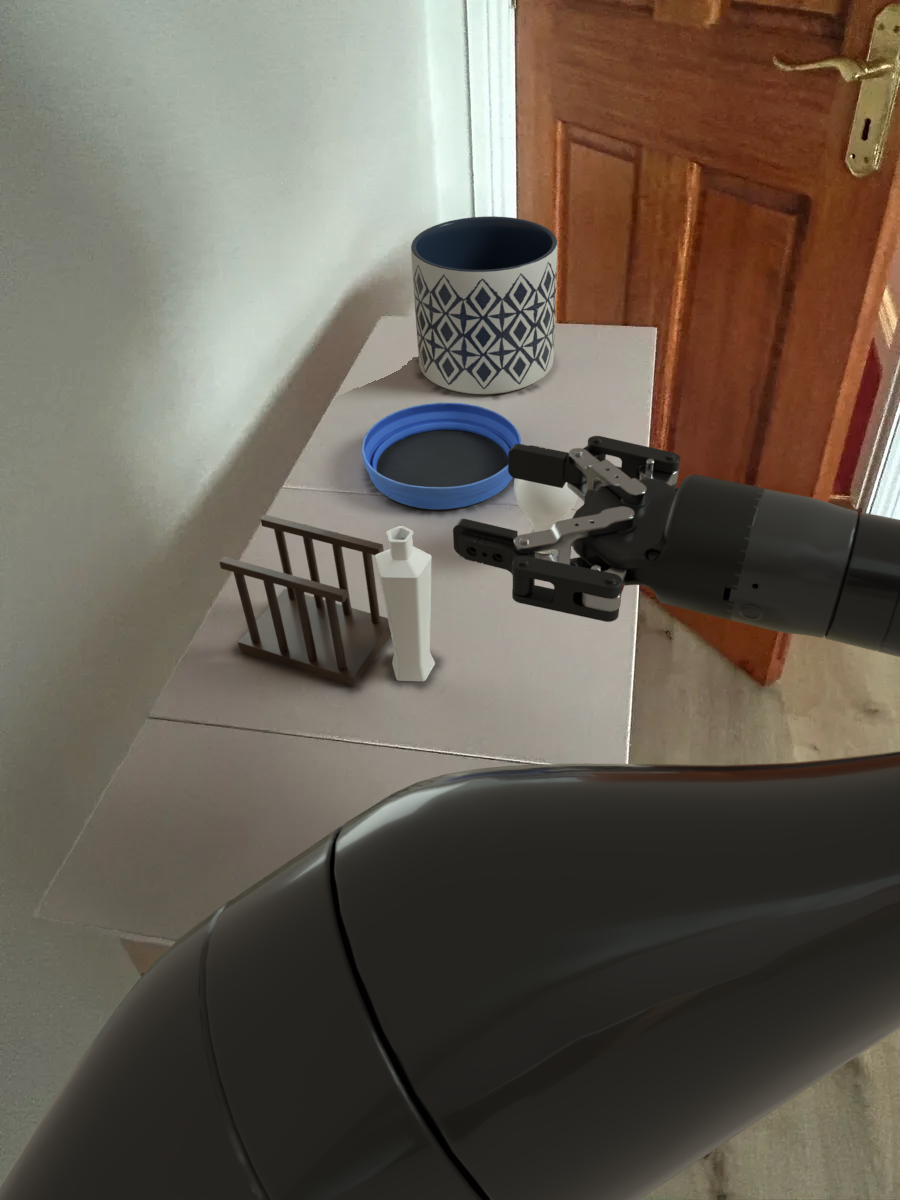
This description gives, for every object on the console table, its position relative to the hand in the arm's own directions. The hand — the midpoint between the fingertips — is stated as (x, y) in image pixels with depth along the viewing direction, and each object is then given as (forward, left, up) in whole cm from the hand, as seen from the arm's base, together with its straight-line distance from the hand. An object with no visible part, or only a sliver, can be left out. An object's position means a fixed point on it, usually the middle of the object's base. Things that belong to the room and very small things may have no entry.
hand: (484, 495), depth 56 cm
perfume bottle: (+7, +10, -26) cm, 29 cm away
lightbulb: (+27, +5, -26) cm, 38 cm away
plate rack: (+7, +20, -26) cm, 34 cm away
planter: (+62, +26, -26) cm, 72 cm away
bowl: (+37, +21, -26) cm, 50 cm away
